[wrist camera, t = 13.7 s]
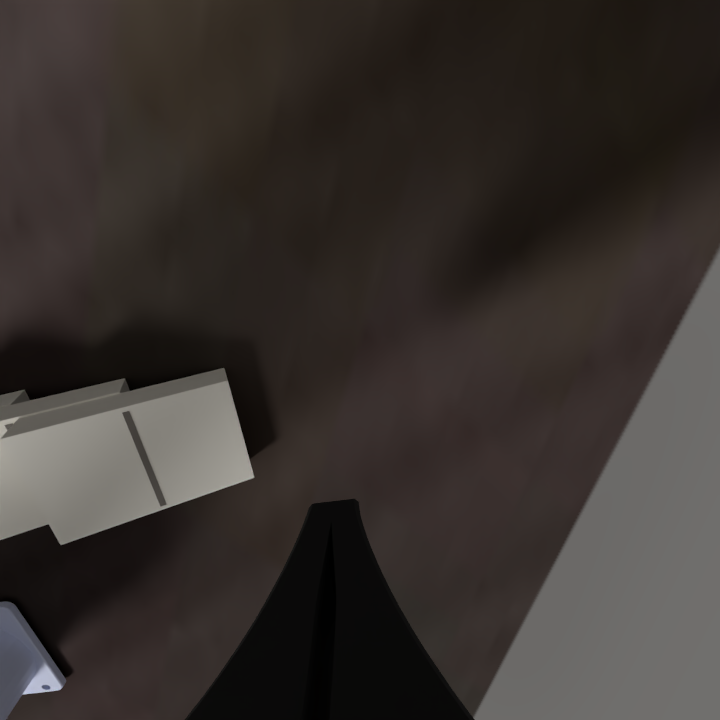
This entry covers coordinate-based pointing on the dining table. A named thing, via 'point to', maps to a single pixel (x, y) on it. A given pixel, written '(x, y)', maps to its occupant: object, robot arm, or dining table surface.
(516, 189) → the dining table surface
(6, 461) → the domino
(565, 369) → the dining table surface
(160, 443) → the domino
